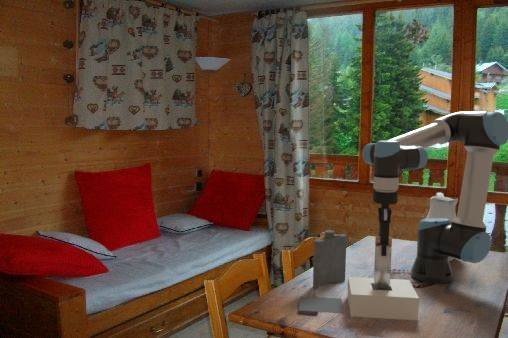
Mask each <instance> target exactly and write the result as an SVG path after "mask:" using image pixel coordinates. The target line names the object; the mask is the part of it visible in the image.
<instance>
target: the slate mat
mask: <svg viewBox="0 0 508 338" xmlns="http://www.w3.org/2000/svg"><path fill="white" fill-rule="evenodd" d="M298 303H299V304H298V314H302V315H317V316H318V315H319V313H329V314H330V313H333V314H335V313H336V314H345V313H344V312H345V311H344V306H343V305H344V304H343V299H342V297H341V298H338V297H337V298H336V297H335V298H334V297H320V296H303V295H302V296H301V295H300V296H299V302H298Z"/></svg>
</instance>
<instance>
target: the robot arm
mask: <svg viewBox="0 0 508 338" xmlns="http://www.w3.org/2000/svg"><path fill="white" fill-rule="evenodd" d="M507 142H508V118H507V117H506V116H505V115H504V113H502V112H499V111H491V110H484V111H483V110H482V111H479V110H477V111H474V110H473V111H472V110H471V111H469V110H468V111H467V110H466V111H465V110H464V111H463V110H462V111H457V112H453V113H450V114H448V115H445V116H441V117H438V118H436V119H434V120H432V121H431V122H430V123H429V124H426V125H425V126H422V127H420V128H417V129H414V130H412V131H409V132H406V133H404V134H401V135H398V136H395V137H393V138H390V139H387V140H378V141H376V142H373V143H372V142H371V143H367V144H365V145H364V147H363V149H362V153H361V154H362V159H363V161H364V162H365V163H366V164H368V165H372V166H373V179H371V183H373V187H372V188H373V189H374V190H373V192H372V202H373V203H375V204H380V206H379V207H377V212H378V213H377V214H378V223H379V226H378V227H379V228H378V236H380V243H377V245H379V265H382V266H388V245H389V237H390V224H391V219H392V217H391V215H392V212H393V211H392V208H391V207H390V205H395V204H397V203H398V198H399V192H398V190H399V178H400V177H399V176H400V175H399V174H400V171H405V170H406V171H407V170H408V171H409V170H410V171H411V170H414V171H415V170H418V169H422V168H425V166H426V165H427V164H428V163H427V162H428V161H429V160H428V159H429V155H428V152H427V150H426V149H427V148H429V147H432V146H435V145H436V144H439V145H445V144H447V143H463V148H464V149H465V151H466V159H465V166H464V172H463V177H462V183H461V184H462V185H461V190H460V196H459V200H458V203H459V204H458V208H457V213H456V218H455V219H453V220H452V223H451V220H450V219H447V218H427V219H426V218H423V219H421V220H419V221H418V228H417V240H416V241H417V243H416V245H417V246H416V257H415V260H414V262H413V264H412V266H411V270H410V272H411V273H410V276H411V277H412V278H413V279H415V280H417V281H420V282H424V283H430V284H447V283H451V282H452V281H453V277H454V273H453V270H452V267H451V263H450V262H451V261H449V256H450V257H453V258H454V259H457V260H460V261H462V262H466V263H471V264H478V263H480V262H482V261H484V259H485V258H487V256H488V255H489V253H490V250H491V247H492V244H493V243H492V242H493V241H492V237H491V235H490V234H489V233H488V232H487V225H486V224H485V223H484V215H485V209H486V204H487V197H488V192H489V187H490V186H489V185H490V179H491V175H492V174H491V173H492V167H493V161H494V155H496V154H497V153H498V152H499V151H500V147H501V146H503V145H505V144H507Z"/></svg>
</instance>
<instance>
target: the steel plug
mask: <svg viewBox="0 0 508 338" xmlns="http://www.w3.org/2000/svg"><path fill="white" fill-rule="evenodd" d="M374 241H375V242H374V271H373V274H374V275H373V278H374V290H387V291H390V279H391V274H392V273H391V269H392V267H391V266H392V246H393V238H392V237H390V236H389V245H388V266H382V265H379V245H377V243H380V236H379V235H377V236H375V240H374Z"/></svg>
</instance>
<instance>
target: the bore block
mask: <svg viewBox="0 0 508 338" xmlns="http://www.w3.org/2000/svg"><path fill="white" fill-rule="evenodd" d="M346 295H347V303H348V308H349V313H350V317H353V318H354V317H357V318H372V319H385V320H387V319H388V320H400V321H401V320H403V321H404V320H405V321H419V309H420V308H419V306H420V297H419V296H418V293H417V292H416V290H415V288H414V287H413V284H412V283H411V281H410V279H400V278H398V279H397V278H396V279H395V278H390V291H387V290H374V277H362V276H361V277H359V276H347V294H346Z"/></svg>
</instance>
